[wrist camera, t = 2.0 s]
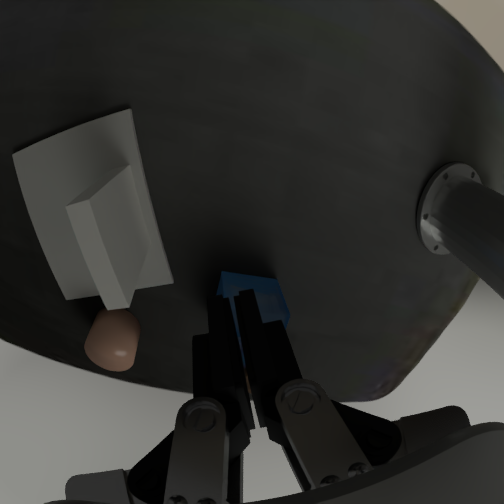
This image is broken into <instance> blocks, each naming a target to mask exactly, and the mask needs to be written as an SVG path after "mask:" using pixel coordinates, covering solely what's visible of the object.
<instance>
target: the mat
mask: <svg viewBox="0 0 504 504" xmlns="http://www.w3.org/2000/svg"><path fill="white" fill-rule="evenodd" d="M12 156H13V160H14V164H15V168H16V172H17V176H18V180H19V183H20V187H21V190H22V193H23V196H24V200H25V203H26V206H27V209H28V212H29V215H30V218H31V220H32V223H33V226H34V229H35V231H36V234H37V236H38V239H39V241H40V244H41V246H42V249H43V251H44V254H45V256H46V258H47V261H48V263H49V265H50V267H51V269H52V272H53V274H54V276H55V278H56V280H57V282H58V284H59V286H60V288H61V290H62V292H63V294H64V296H65V298H66V300H70V299H77V298H84V297H90V296H97V295H100V294H99V292H98V290H97V288H96V285H95V283H94V281H93V279H92V276H91V274H90V272H89V269H88V267H87V265H86V262H85V260H84V257H83V255H82V252H81V250H80V247H79V245H78V242H77V239H76V237H75V234H74V231H73V228H72V226H71V223H70V220H69V217H68V214H67V211H66V207H65V206H66V205H68V204H69V203H70V202H71V201H72V200H73V199H75V198H76V197H77V196H78V195H80V194H81V193H82V192H83V191H85V190H86V189H87V188H88V187H90V186H91V185H92V184H93V183H95V182H96V181H97V180H99V179H100V178H101V177H103V176H104V175H105V174H107V173H108V172H109V171H111V170H112V169H115V168H119V167H123V166H126V165H130V167H131V171H132V175H133V179H134V184H135V187H136V191H137V195H138V199H139V203H140V207H141V210H142V214H143V217H144V221H145V224H146V228H147V231H148V235H149V238H150V241H151V244H150V247H149V250H148V253H147V255H146V258H145V261H144V264H143V267H142V270H141V273H140V276H139V279H138V282H137V285H136V288H135V289H141V288H147V287H153V286H159V285H165V284H171V283H173V282H174V279H173V276H172V273H171V269H170V266H169V263H168V260H167V256H166V253H165V250H164V246H163V243H162V239H161V236H160V232H159V228H158V225H157V221H156V217H155V214H154V210H153V206H152V202H151V198H150V194H149V190H148V186H147V182H146V178H145V173H144V169H143V165H142V160H141V156H140V151H139V146H138V141H137V136H136V131H135V126H134V121H133V116H132V110H131V109H127V110H124V111H121V112H117V113H114V114H111V115H108V116H105V117H102V118H99V119H96V120H93V121H90V122H87V123H84V124H82V125H79V126H76V127H74V128H71V129H68V130H66V131H63V132H61V133H58V134H56V135H54V136H51V137H49V138H47V139H44V140H42V141H40V142H38V143H35V144H33V145H31V146H29V147H27V148H25V149H23V150H21V151H19V152H17V153H15V154H13V155H12Z"/></svg>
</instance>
